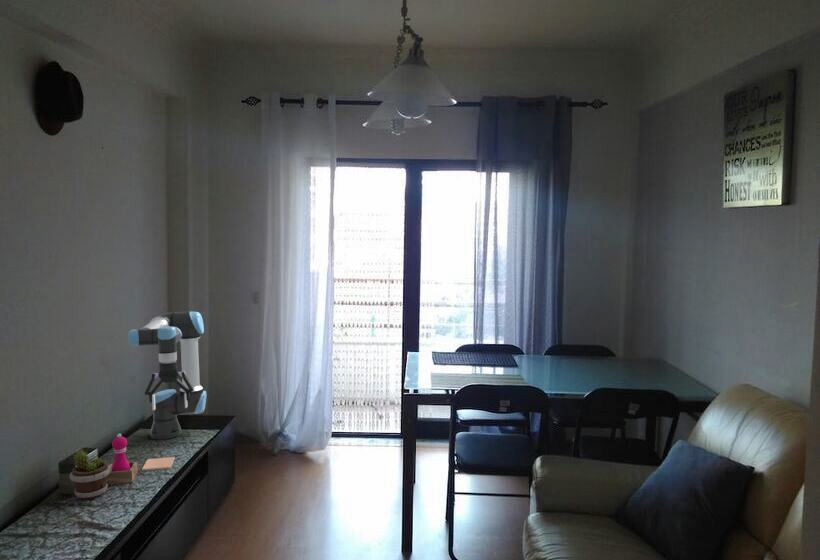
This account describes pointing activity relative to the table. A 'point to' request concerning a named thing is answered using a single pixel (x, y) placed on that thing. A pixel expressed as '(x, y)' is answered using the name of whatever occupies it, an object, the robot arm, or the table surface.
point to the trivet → (158, 463)
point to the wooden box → (122, 474)
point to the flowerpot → (89, 476)
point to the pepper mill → (120, 454)
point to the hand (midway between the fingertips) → (170, 408)
